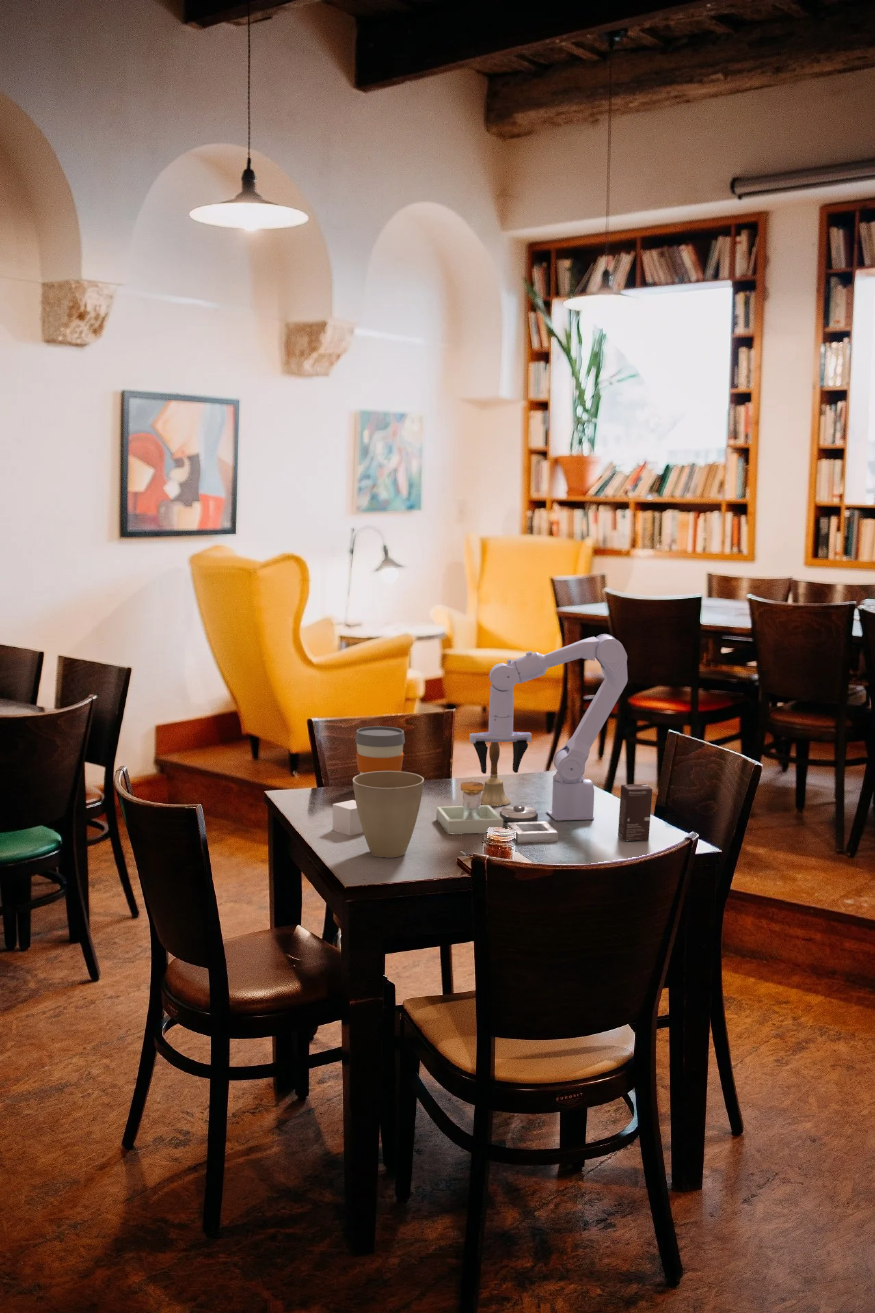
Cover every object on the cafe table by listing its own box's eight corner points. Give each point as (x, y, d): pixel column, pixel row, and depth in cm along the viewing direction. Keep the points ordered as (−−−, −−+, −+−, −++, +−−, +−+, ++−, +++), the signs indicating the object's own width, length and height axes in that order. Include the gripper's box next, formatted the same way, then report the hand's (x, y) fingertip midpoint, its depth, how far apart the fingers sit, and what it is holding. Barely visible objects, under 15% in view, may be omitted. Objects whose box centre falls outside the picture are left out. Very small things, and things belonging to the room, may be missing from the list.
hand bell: (470, 803, 300) (472, 739, 298) (487, 796, 307) (489, 733, 305) (499, 808, 295) (501, 743, 293) (516, 801, 302) (518, 738, 300)
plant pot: (370, 839, 267) (371, 767, 265) (433, 848, 261) (435, 775, 259) (339, 857, 253) (340, 782, 251) (404, 867, 248) (406, 790, 245)
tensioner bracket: (531, 817, 288) (532, 801, 287) (557, 841, 269) (558, 824, 268) (494, 818, 286) (495, 802, 286) (518, 842, 267) (518, 825, 266)
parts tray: (488, 817, 287) (489, 805, 286) (502, 832, 275) (503, 819, 274) (436, 819, 284) (436, 806, 284) (448, 834, 272) (448, 821, 271)
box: (624, 842, 269) (627, 789, 267) (617, 836, 273) (619, 784, 272) (650, 841, 270) (653, 788, 269) (642, 835, 275) (645, 783, 273)
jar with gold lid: (482, 821, 281) (484, 782, 280) (482, 827, 276) (483, 787, 275) (460, 820, 282) (461, 781, 280) (459, 826, 276) (460, 786, 275)
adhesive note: (349, 836, 269) (350, 809, 269) (332, 830, 274) (332, 804, 273) (370, 831, 274) (370, 805, 273) (352, 825, 278) (353, 799, 277)
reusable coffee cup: (344, 787, 312) (345, 730, 310) (382, 780, 320) (383, 724, 318) (376, 797, 303) (377, 738, 301) (414, 790, 311) (415, 732, 309)
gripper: (526, 711, 291) (524, 767, 293) (467, 712, 288) (465, 769, 290) (534, 717, 284) (532, 774, 286) (474, 718, 281) (472, 776, 283)
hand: (499, 772), depth 288 cm, fingers open, 7 cm apart
